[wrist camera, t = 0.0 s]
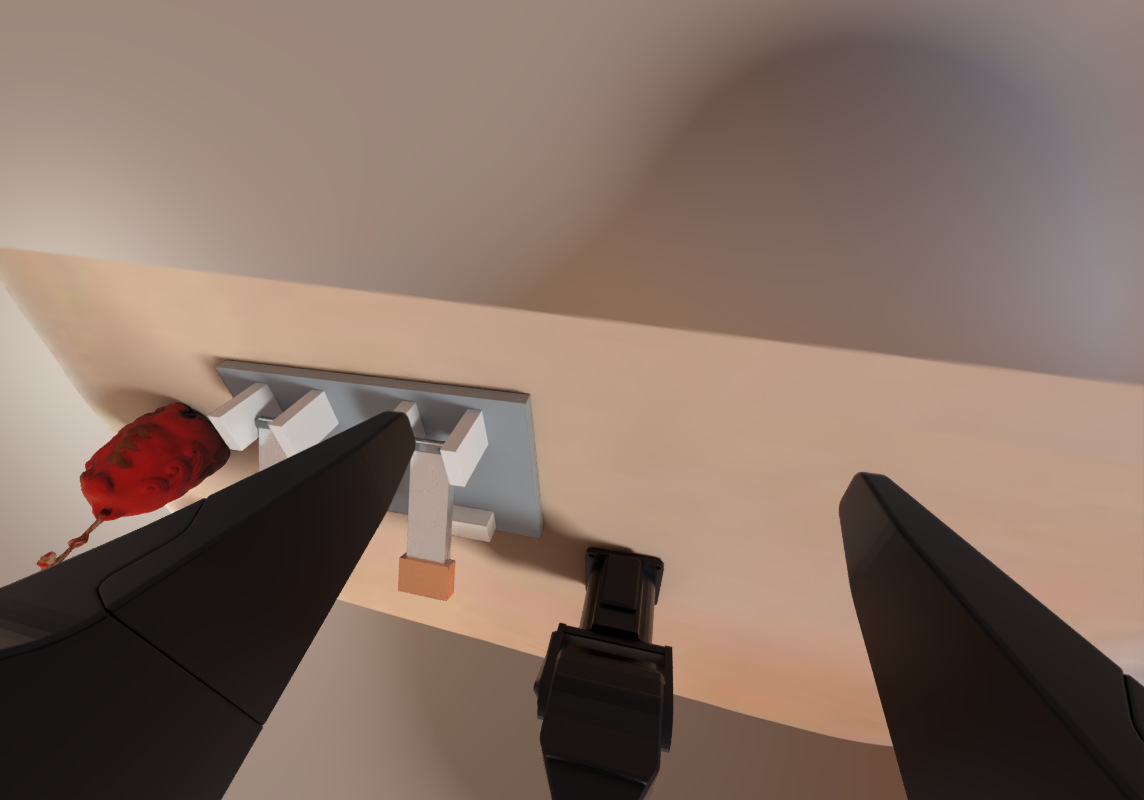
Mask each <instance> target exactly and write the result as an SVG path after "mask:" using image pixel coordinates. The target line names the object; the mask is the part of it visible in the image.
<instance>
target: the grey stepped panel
mask: <svg viewBox="0 0 1144 800" xmlns="http://www.w3.org/2000/svg"><path fill="white" fill-rule="evenodd" d="M215 369H216V371H217V372H218V374H219V375H220V377H221V379H222V380H223V382H224V383H225V385H226V387H227V388H228V390H229V391H230V393H231V395H232V396H233V398H232V399H231V400H230V401H228V402H227V403H225V404H224V405H222V406H221V407H219V408H218V409H216V410H215V411H213V412H212V413H211V414H209V415H208V418H209V419H210V421H211V422H212V424H213V425H214V427H215V428H216V429H217V431H218V432H219V434H220V435H221V437H222V438H223V440H224V441H225V442H226V444H227V445H228V447H229V448H230V449H233V450H239V451H242V450H244V449H245V448H246V447H247V446H249V445H250V444H251V443H252V442H253V441H255V440H256V439H257V438H259V429H257V428H256V426H255V421H256V419H257V418H258V417H260V416H268V417H275V418H276V419H275V420H273V421H272V422H271V423H270V424H268V425H269V427H270V429H271V431H272V432H273V434H274V436H275V437H276V439H277V441H278V442H279V444H280V446H281V447H282V449H283V451H284V453H285V454H286V456H287V458H289V457H291V456H293V455H295V454H297V453H299V452H301V451H303V450H305V449H307V448H309V447H311V446H314V445H316V444H318V443H320V442H322V441H324V440H326V439H328V438H330V437H332V436H334V435H336V434H338V433H341V432H343V431H345V430H347V429H349V428H351V427H353V426H355V425H357V424H359V423H361V422H363V421H365V420H368V419H370V418H372V417H374V416H376V415H378V414H380V413H382V412H384V411H388V410H391V411H399V412H404V413H406V415H407V416H408V418H409V421H410V424H411V427H412V430H413V433H414V436H415V437H417V438H424V439H431V440H438V441H445V443H444V444H443V446H442V447H441V449H440V452H441V455H442V459H443V462H444V466H445V469H446V473H447V476H448V480H449V483H450V485H454V497H453V515H452V532H451V535H454V536H459V537H464V538H470V539H475V540H480V541H486V542H490V540H491V538H492V536H493V534H494V531H495V530H496V531H502V532H507V533H513V534H518V535H524V536H529V537H535V538H541V535H542V532H543V529H544V528H543V518H542V508H541V498H540V488H539V478H538V468H537V458H536V448H535V438H534V428H533V417H532V407H531V397H530V395H529V394H520V393H511V392H502V391H493V390H485V389H476V388H467V387H458V386H450V385H441V384H432V383H423V382H414V381H406V380H397V379H388V378H379V377H371V376H362V375H353V374H344V373H336V372H327V371H318V370H309V369H300V368H292V367H283V366H274V365H265V364H257V363H248V362H239V361H230V360H225V361H223V362H222V363H220V364H218V365H217V366H215ZM410 464H411V460H410V462H409V465H408V467H407V469H406V471H405V474H404V476H403V478H402V480H401V482H400V485H399V487H398V489H397V491H396V494H395V496H394V498H393V500H392V502H391V504H390V507H389V509H388V511H390V512H396V513H401V514H407V515H408V510H409V487H410Z"/></svg>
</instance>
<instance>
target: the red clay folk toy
mask: <svg viewBox="0 0 1144 800" xmlns="http://www.w3.org/2000/svg"><path fill="white" fill-rule="evenodd" d="M229 457H230V449H229V448H228V446H227V445H226V443H225V441H224V440H223V438H222V437H221V435H220V434H219V432H218V431H217V430H216V428H215V427H214V425H213V424H211V423H210V422H209V421H207V420H206V419H205V418H204V417H203V416H202V415H200V414H197V413H191V410H190V408H188V407H187V406H185V405H182V404H178V403H175V404H170V405H168V406H167V407H161V408H158V409H156V410H155V412H154V413H147V414H144V415H143V416H141V417H139V418H137V419H136V420H135V421H134V422H133V423H131V424H128V425H126V426H124V427H123V428H122V429H121V430H120V431H119V432H118V434H117V435H116V436H114V437H113V438H112V439H111V440H110V441H109V442H108V443H107V444H106V445H104V446H103V447H102V448H100V449H99V450H98V451H97V452H96V453H95V454H94V455H93V456H92V458H91V459H90V460H89V461H88V462H86V464H85V468H86V471H85V472H83V473H82V474H81V476H80V483H81V487H82V489H81V490H82V492H83V495H84V496H85V497H86V499H87V501H88V502H89V504H90V505H91V506H92V513H93V514H94V516H95V518H96V519H97V520H96V521H95V522H94V523H93V524H92V525H91V526H90V527H89V529H87V531H86V532H85V533H84V534H83V535H82V536H81V537H78V538H76V539H72V540H70V541H69V542H68V545H69V546H70V547H69V548H68V549H67V550H66V551H65V552H64V553H63V554H62V555H60V556H59V557H58V558H56V553H55V552H52V551H51V552H49V553H47V554H46V555H44V556H42V557H41V559H40V560H39V561H38V562H37V565H38V566H40V567H41V568H42V569H41V571H42V570H44V569H46V568H49V567H51V566H53V565H56V564H58V563H60V562H62V561H63V560H64V559H65V557H66V556H67V555H68V554H69V553H70V552H71V551H72V550H73V549H74V548H78V547H80V546H82V545H84V544H86V543H87V541H88V538H89V533H90V532H92V531H93V530H94V529H95V528H96V527H97V526H98V525H99V524H100V523H102V522H103V521H109V520H115V519H118V518H120V517H125V516H133V515H139V514H143V513H148V512H152V511H155V510H157V509H159V508H161V507H163V506H164V505H166V504H167V503H169V502H171V501H174V500H176V499H178V498H180V497H182V496H183V495H184V494H185V493H186V492H188V491H189V490H190V489H192V488H194V487H196V486H197V485H199V484H200V483H201V482H202V481H203V480H204V479H205V478H206V477H208V476H210V475H212V474H213V473H215V472H216V471H217V470H219V469H220V468H221V467H223V466H224V465H225V464H226V462H227V460H228V459H229ZM55 558H56V559H55Z"/></svg>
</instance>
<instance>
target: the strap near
mask: <svg viewBox="0 0 1144 800" xmlns="http://www.w3.org/2000/svg"><path fill="white" fill-rule="evenodd" d="M415 439H416V447H415V451H414V453H413V456H412V458H411V464H410V487H409V510H408V534H407V552H406V553H405V554H404V555H402V556H401V557H400V558H399V582H398V591H402V592H406V593H411V594H416V595H420V596H425V597H429V598H434V599H439V600H443V601H447V600H448V599H449V598H450V596H451V595H452V594H453V592H454V575H455V560H451V559H450V550H451V532H452V515H453V497H454V485H450V483H449V480H448V476H447V473H446V469H445V466H444V462H443V459H442V455H441V452H440V449H441V447H442V446H443V444H444V443H445V441H438V440H431V439H424V438H417V437H415Z"/></svg>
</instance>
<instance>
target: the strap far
mask: <svg viewBox="0 0 1144 800" xmlns="http://www.w3.org/2000/svg"><path fill="white" fill-rule="evenodd" d="M275 419H276V418H275V417H268V416H260V417H258V418H257V419H256V421H255V426H256V428H257V429H259V472H260V471H262V470H264V469H266V468H268V467H270V466H272V465H274V464H276V463H278V462H280V461H282V460H284V459H287V456H286V454H285V453H284V451H283V449H282V447H281V446H280V444H279V442H278V441H277V439H276V437H275V436H274V434H273V432H272V431H271V429H270V427H269V425H268V424H270V423H271V422H272V421H273V420H275Z"/></svg>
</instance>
